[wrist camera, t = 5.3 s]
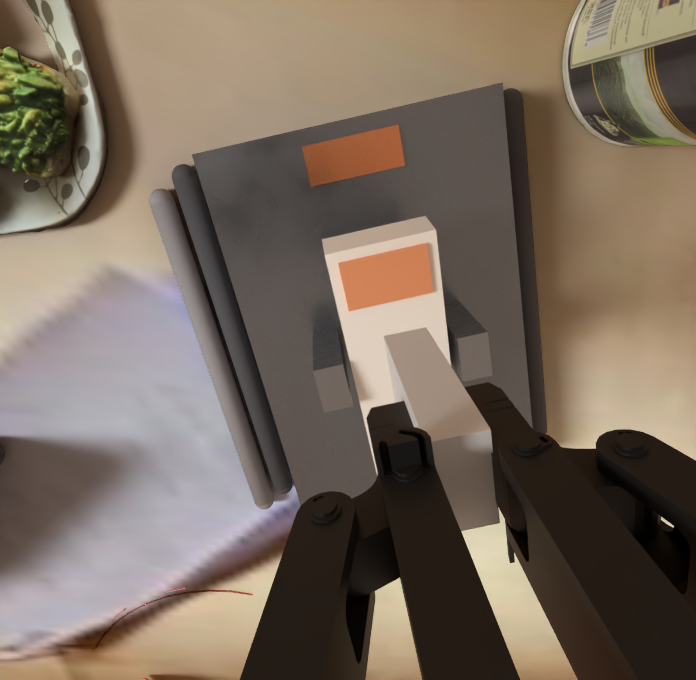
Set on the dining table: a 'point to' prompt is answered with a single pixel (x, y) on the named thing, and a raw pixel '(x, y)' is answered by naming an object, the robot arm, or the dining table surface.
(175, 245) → the rods
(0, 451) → the black rounded flat block
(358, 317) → the rocker
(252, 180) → the lever switch plate
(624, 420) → the dining table surface
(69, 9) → the salad plate
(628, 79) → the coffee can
